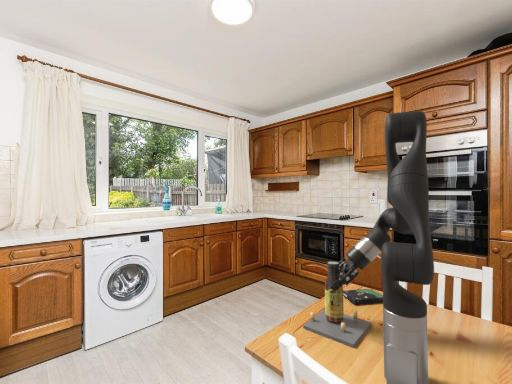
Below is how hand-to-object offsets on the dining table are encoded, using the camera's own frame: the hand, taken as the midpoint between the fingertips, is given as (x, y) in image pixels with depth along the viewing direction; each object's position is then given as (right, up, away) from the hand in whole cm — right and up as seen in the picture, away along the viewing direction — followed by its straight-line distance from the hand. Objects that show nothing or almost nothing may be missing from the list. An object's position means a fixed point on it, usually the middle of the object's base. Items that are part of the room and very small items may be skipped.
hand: (330, 284), depth 90 cm
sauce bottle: (+2, -12, -1) cm, 12 cm away
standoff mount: (+2, -13, -3) cm, 14 cm away
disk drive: (+20, -14, +20) cm, 32 cm away
